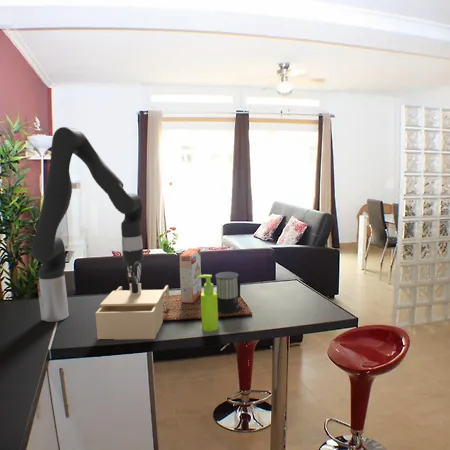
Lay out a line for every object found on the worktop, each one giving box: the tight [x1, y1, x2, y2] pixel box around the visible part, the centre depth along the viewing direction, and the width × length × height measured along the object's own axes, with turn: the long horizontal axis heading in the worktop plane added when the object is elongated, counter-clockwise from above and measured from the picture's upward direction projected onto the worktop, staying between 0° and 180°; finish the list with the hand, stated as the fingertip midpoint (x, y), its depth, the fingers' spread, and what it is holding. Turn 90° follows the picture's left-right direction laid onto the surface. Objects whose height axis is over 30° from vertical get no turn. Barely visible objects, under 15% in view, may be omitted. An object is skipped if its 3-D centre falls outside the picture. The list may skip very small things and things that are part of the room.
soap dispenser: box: [197, 274, 219, 333], centre depth 141 cm, size 6×7×20 cm
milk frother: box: [215, 271, 241, 315], centre depth 162 cm, size 14×16×15 cm
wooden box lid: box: [99, 282, 165, 307], centre depth 147 cm, size 20×14×5 cm
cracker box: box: [179, 248, 202, 304], centre depth 173 cm, size 14×6×21 cm, turn 168°
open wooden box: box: [95, 284, 170, 341], centre depth 149 cm, size 20×28×10 cm
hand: (135, 292), depth 150 cm, fingers closed
